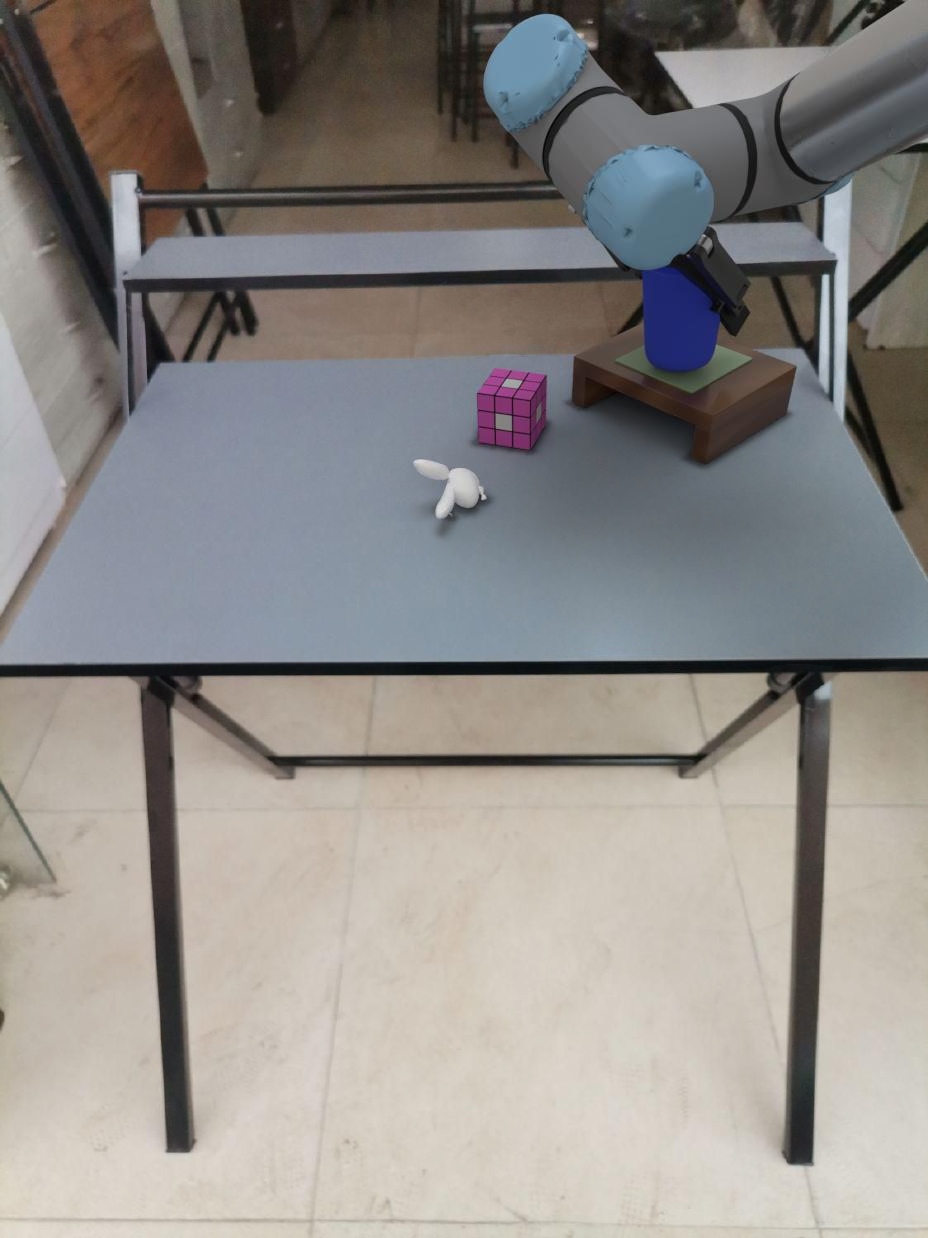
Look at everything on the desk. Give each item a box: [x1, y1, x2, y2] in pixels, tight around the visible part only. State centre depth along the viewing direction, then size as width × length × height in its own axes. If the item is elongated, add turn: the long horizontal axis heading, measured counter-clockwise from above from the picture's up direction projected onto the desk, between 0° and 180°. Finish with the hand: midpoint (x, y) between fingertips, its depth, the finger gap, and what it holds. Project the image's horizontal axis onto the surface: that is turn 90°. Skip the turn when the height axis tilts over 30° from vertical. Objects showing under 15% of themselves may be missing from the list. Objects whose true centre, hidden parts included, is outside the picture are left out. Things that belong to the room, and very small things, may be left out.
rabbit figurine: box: [412, 458, 488, 520], centre depth 86 cm, size 6×4×8 cm
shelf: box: [571, 322, 798, 465], centre depth 97 cm, size 18×14×6 cm
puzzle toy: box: [476, 367, 548, 451], centre depth 95 cm, size 6×6×6 cm
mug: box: [641, 266, 721, 372], centre depth 92 cm, size 8×12×10 cm
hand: (709, 312), depth 95 cm, fingers closed on mug, 7 cm apart
